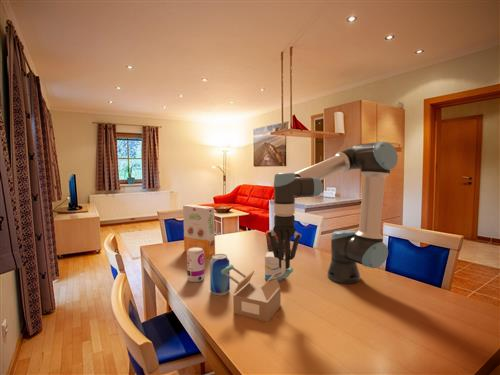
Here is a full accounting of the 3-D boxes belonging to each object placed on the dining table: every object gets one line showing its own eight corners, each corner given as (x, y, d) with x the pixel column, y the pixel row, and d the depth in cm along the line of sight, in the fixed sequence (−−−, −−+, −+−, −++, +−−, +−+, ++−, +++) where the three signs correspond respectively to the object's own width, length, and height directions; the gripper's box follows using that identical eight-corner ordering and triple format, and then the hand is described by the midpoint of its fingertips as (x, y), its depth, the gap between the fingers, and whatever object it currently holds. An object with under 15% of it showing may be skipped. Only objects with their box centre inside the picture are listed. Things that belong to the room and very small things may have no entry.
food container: (290, 251, 181) (290, 234, 180) (265, 251, 181) (265, 234, 181) (287, 244, 197) (287, 229, 196) (264, 244, 197) (264, 229, 196)
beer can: (214, 298, 118) (213, 260, 117) (207, 290, 125) (207, 255, 124) (232, 293, 122) (232, 257, 120) (225, 286, 129) (224, 252, 128)
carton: (280, 305, 111) (280, 288, 110) (268, 322, 99) (268, 302, 99) (248, 298, 117) (248, 282, 116) (233, 313, 105) (233, 295, 105)
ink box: (282, 281, 134) (282, 257, 133) (264, 280, 136) (264, 256, 135) (283, 274, 142) (283, 252, 142) (267, 273, 144) (267, 251, 143)
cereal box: (215, 255, 174) (214, 207, 172) (207, 258, 169) (206, 208, 167) (192, 248, 188) (190, 204, 186) (184, 251, 184) (183, 205, 181)
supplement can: (207, 277, 139) (207, 247, 138) (197, 284, 132) (197, 252, 131) (194, 275, 143) (193, 246, 142) (183, 281, 135) (183, 250, 134)
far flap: (255, 270, 115) (238, 258, 118) (239, 282, 102) (221, 269, 105) (249, 280, 116) (233, 269, 119) (233, 294, 104) (215, 281, 107)
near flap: (279, 285, 111) (298, 279, 108) (266, 300, 99) (287, 294, 95) (273, 272, 112) (292, 265, 108) (260, 285, 100) (280, 279, 96)
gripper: (304, 214, 105) (303, 275, 107) (271, 211, 110) (271, 270, 112) (298, 217, 98) (298, 283, 100) (264, 214, 104) (264, 277, 106)
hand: (284, 276), depth 106 cm, fingers closed
